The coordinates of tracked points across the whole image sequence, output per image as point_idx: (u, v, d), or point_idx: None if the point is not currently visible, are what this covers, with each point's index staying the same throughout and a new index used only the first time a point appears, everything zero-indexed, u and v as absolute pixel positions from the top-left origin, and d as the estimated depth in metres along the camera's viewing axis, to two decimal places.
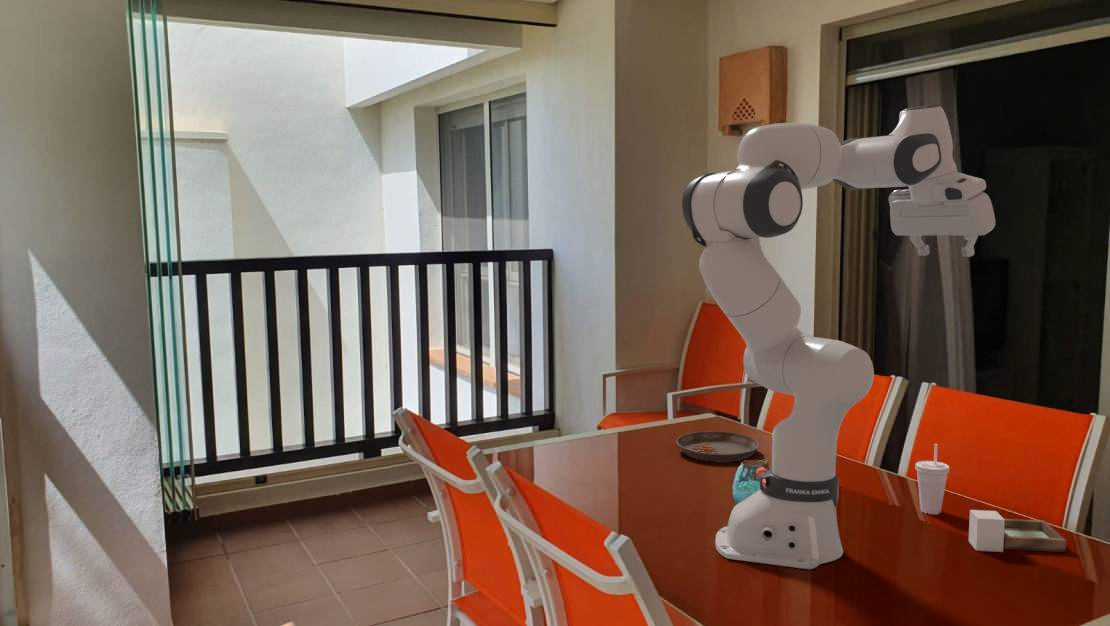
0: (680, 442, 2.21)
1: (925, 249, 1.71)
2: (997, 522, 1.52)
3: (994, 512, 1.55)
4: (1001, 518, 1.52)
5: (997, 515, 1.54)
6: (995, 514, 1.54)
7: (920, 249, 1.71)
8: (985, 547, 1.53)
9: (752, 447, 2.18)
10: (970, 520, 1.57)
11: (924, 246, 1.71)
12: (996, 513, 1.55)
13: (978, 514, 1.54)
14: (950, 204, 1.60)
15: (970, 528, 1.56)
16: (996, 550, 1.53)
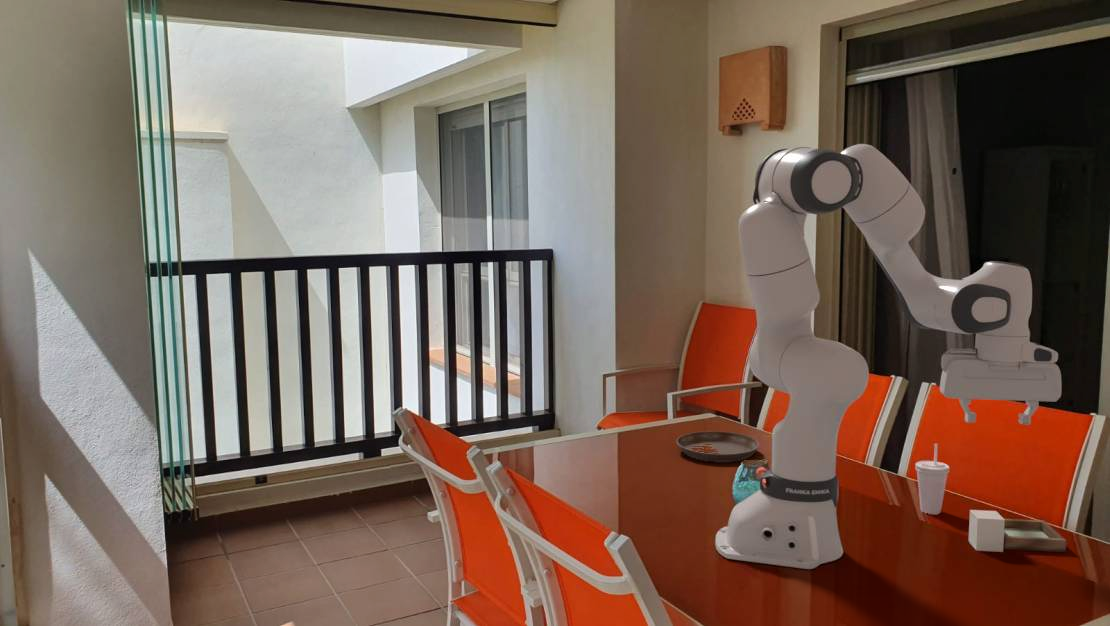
0: (680, 442, 2.21)
1: None
2: (997, 522, 1.52)
3: (994, 512, 1.55)
4: (1001, 518, 1.52)
5: (997, 515, 1.54)
6: (995, 514, 1.54)
7: (972, 415, 1.58)
8: (985, 547, 1.53)
9: (752, 447, 2.18)
10: (970, 520, 1.57)
11: (972, 412, 1.59)
12: (996, 513, 1.55)
13: (978, 514, 1.54)
14: (1033, 366, 1.54)
15: (970, 528, 1.56)
16: (996, 550, 1.53)
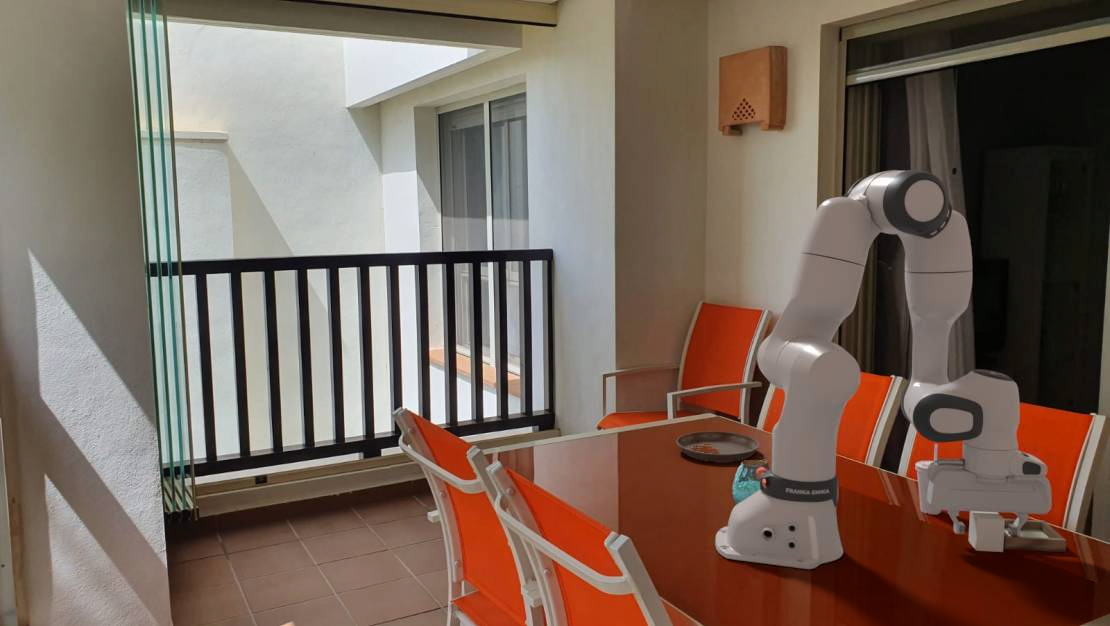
0: (680, 442, 2.21)
1: None
2: (997, 522, 1.52)
3: (994, 512, 1.55)
4: (1001, 518, 1.52)
5: (997, 515, 1.54)
6: (995, 514, 1.54)
7: (960, 526, 1.55)
8: (985, 547, 1.53)
9: (752, 447, 2.18)
10: (970, 520, 1.57)
11: (961, 523, 1.55)
12: (996, 513, 1.55)
13: (978, 514, 1.54)
14: (1022, 479, 1.50)
15: (970, 528, 1.56)
16: (996, 550, 1.53)
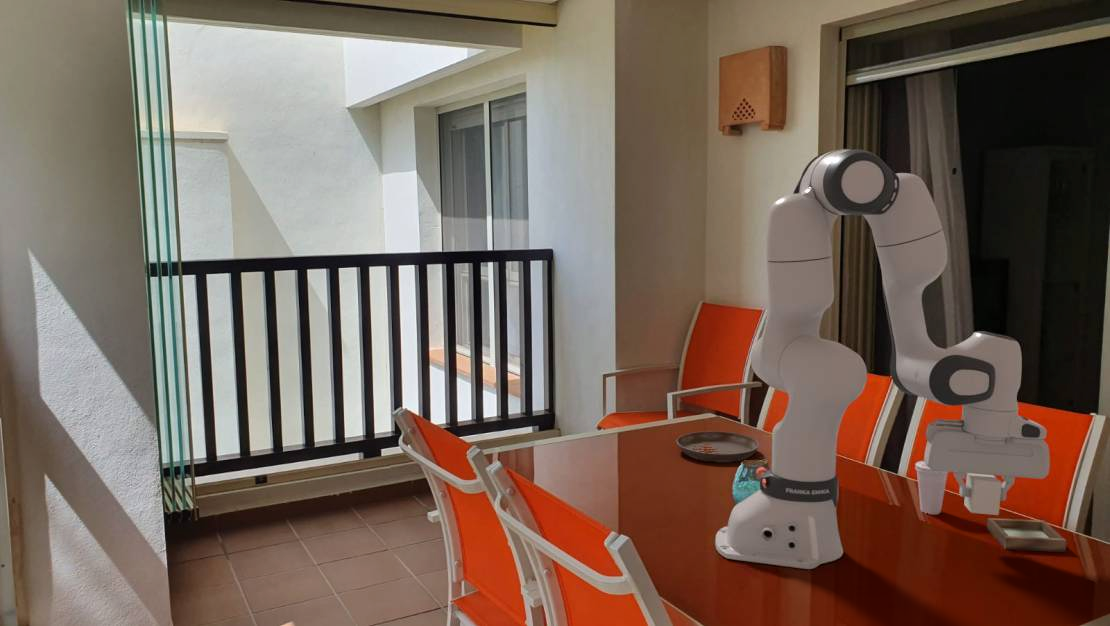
0: (680, 442, 2.21)
1: None
2: (994, 484, 1.51)
3: (991, 476, 1.55)
4: (998, 481, 1.52)
5: (994, 478, 1.53)
6: (992, 477, 1.53)
7: (966, 489, 1.53)
8: (981, 509, 1.52)
9: (752, 447, 2.18)
10: (966, 483, 1.56)
11: (967, 486, 1.54)
12: (993, 477, 1.54)
13: (975, 477, 1.54)
14: (1020, 442, 1.49)
15: None
16: (992, 513, 1.52)
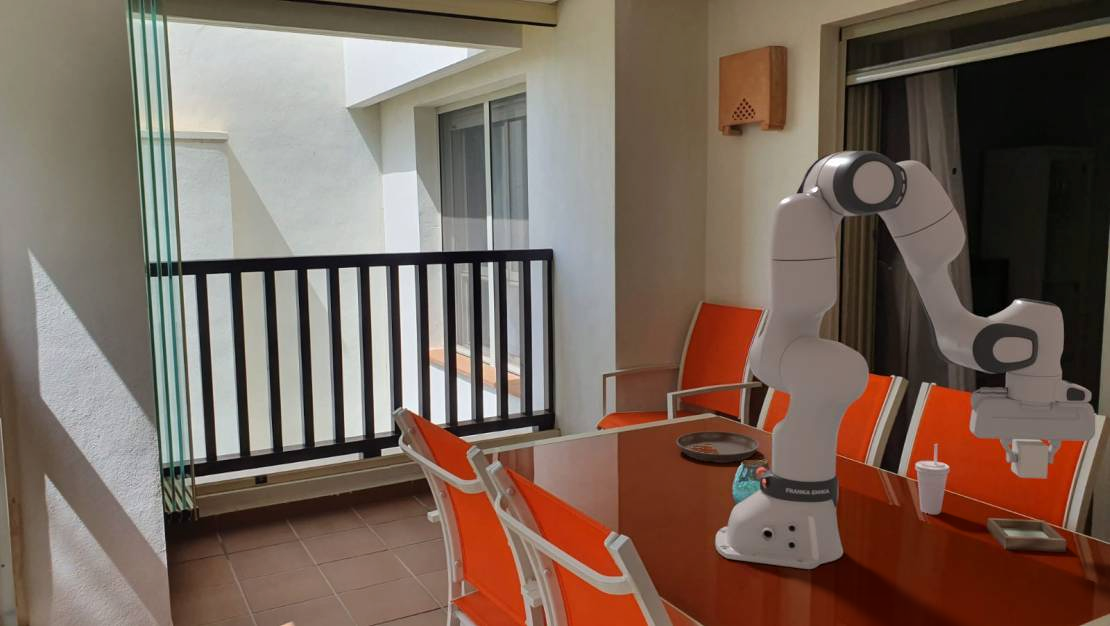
0: (680, 442, 2.21)
1: None
2: (1041, 448, 1.53)
3: (1037, 440, 1.57)
4: (1045, 445, 1.54)
5: (1040, 442, 1.55)
6: (1039, 442, 1.55)
7: (1013, 455, 1.55)
8: (1029, 474, 1.54)
9: (752, 447, 2.18)
10: (1013, 449, 1.58)
11: (1014, 452, 1.56)
12: (1039, 441, 1.56)
13: (1021, 442, 1.56)
14: (1066, 405, 1.51)
15: None
16: (1040, 477, 1.54)
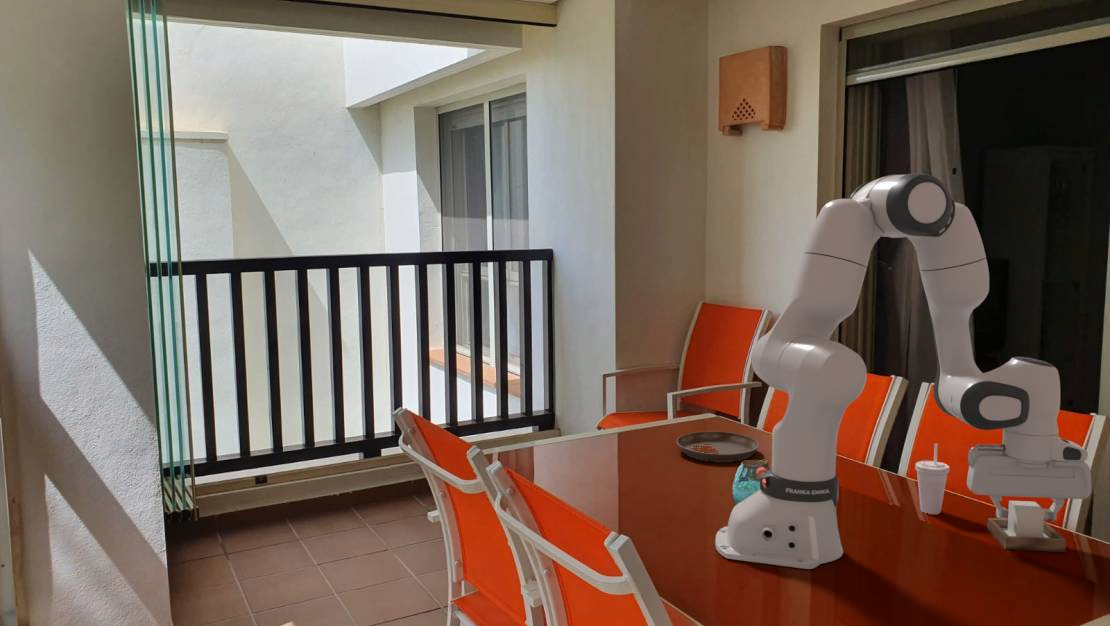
0: (680, 442, 2.21)
1: None
2: (1036, 512, 1.54)
3: (1033, 503, 1.58)
4: (1041, 508, 1.55)
5: (1036, 505, 1.56)
6: (1035, 505, 1.57)
7: (1003, 511, 1.57)
8: None
9: (752, 447, 2.18)
10: (1009, 510, 1.59)
11: (1003, 508, 1.58)
12: (1035, 504, 1.57)
13: (1018, 504, 1.57)
14: (1062, 464, 1.52)
15: (1010, 518, 1.59)
16: None
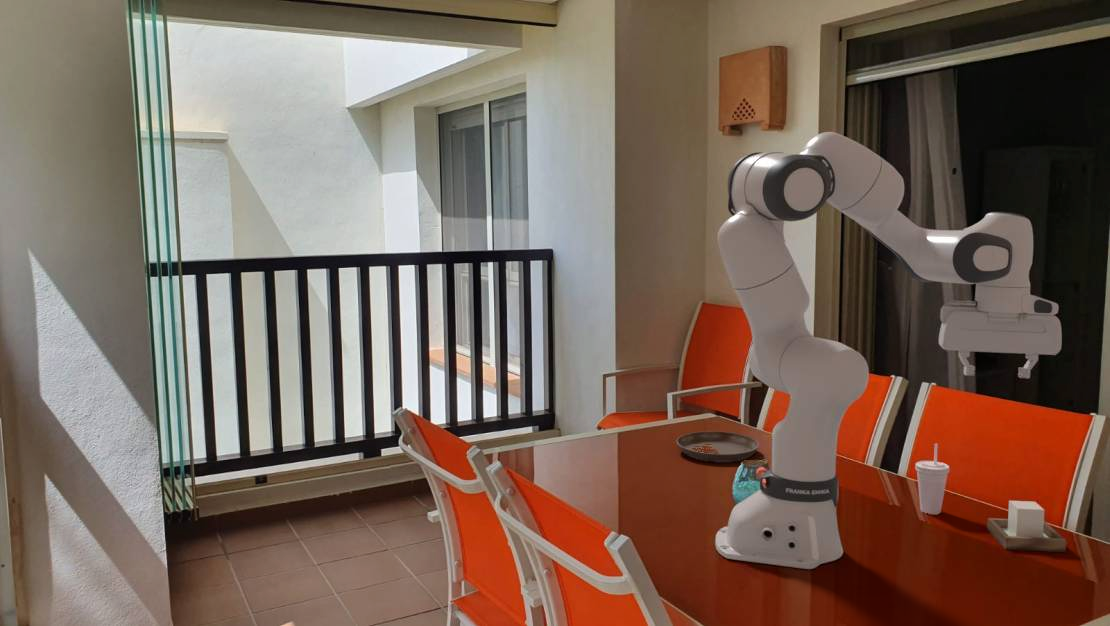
0: (680, 442, 2.21)
1: None
2: (1036, 512, 1.54)
3: (1033, 503, 1.58)
4: (1041, 508, 1.55)
5: (1036, 505, 1.56)
6: (1035, 505, 1.57)
7: (970, 368, 1.57)
8: None
9: (752, 447, 2.18)
10: (1009, 510, 1.59)
11: (971, 365, 1.58)
12: (1035, 504, 1.57)
13: (1018, 504, 1.57)
14: (1033, 318, 1.53)
15: (1010, 518, 1.59)
16: None
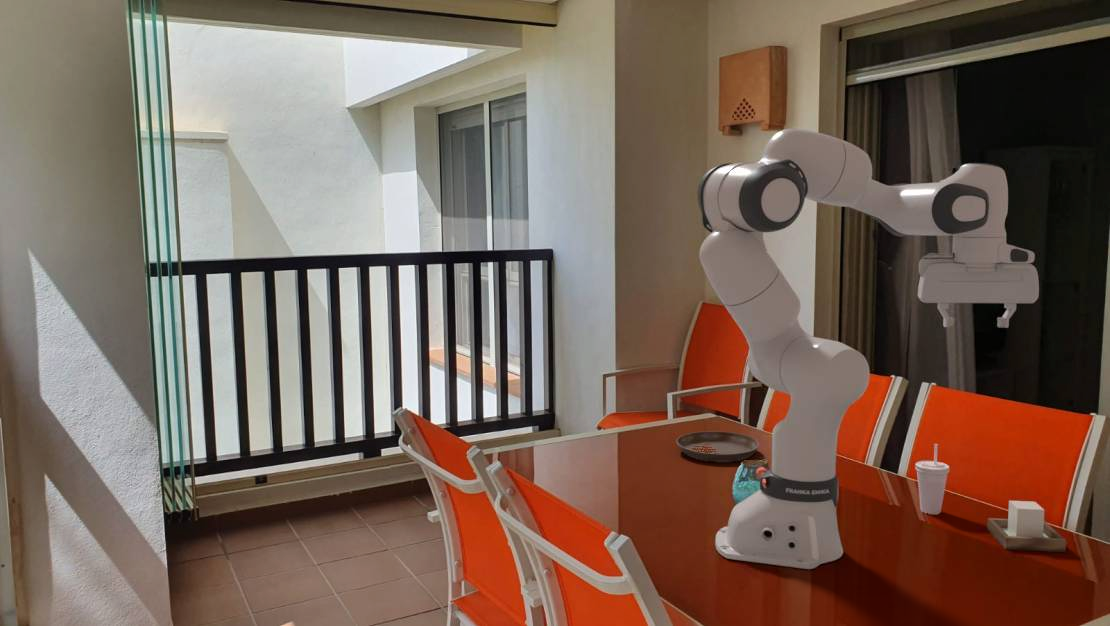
0: (680, 442, 2.21)
1: None
2: (1036, 512, 1.54)
3: (1033, 503, 1.58)
4: (1041, 508, 1.55)
5: (1036, 505, 1.56)
6: (1035, 505, 1.57)
7: (950, 319, 1.58)
8: None
9: (752, 447, 2.18)
10: (1009, 510, 1.59)
11: (950, 317, 1.59)
12: (1035, 504, 1.57)
13: (1018, 504, 1.57)
14: (1010, 267, 1.54)
15: (1010, 518, 1.59)
16: None
